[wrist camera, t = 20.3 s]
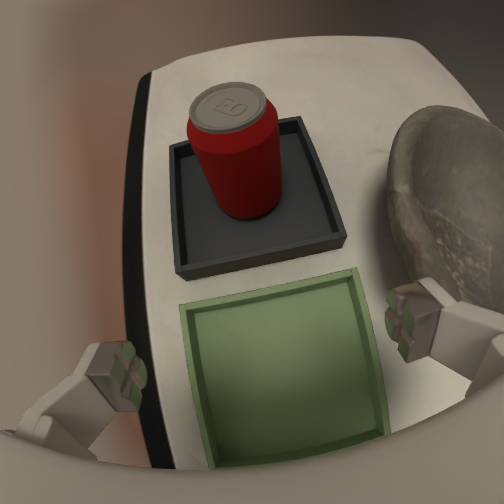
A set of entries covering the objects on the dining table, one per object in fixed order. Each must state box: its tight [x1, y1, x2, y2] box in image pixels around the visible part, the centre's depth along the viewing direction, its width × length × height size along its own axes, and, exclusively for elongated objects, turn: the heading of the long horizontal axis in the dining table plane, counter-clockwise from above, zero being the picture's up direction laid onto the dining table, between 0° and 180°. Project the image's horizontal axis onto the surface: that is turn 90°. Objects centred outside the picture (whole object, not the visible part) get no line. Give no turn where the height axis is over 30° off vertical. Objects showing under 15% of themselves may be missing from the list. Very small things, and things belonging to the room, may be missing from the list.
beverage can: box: [187, 82, 282, 219], centre depth 23 cm, size 7×7×12 cm
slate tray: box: [169, 116, 347, 281], centre depth 27 cm, size 15×15×3 cm
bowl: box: [387, 105, 504, 314], centre depth 20 cm, size 23×22×10 cm
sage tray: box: [179, 267, 391, 470], centre depth 21 cm, size 15×15×3 cm
